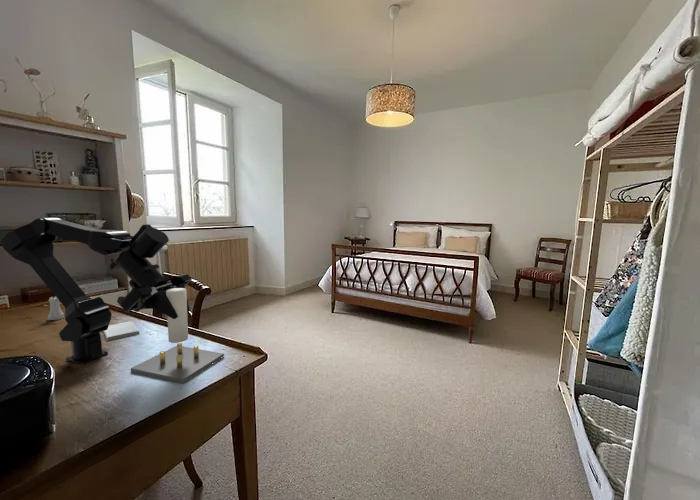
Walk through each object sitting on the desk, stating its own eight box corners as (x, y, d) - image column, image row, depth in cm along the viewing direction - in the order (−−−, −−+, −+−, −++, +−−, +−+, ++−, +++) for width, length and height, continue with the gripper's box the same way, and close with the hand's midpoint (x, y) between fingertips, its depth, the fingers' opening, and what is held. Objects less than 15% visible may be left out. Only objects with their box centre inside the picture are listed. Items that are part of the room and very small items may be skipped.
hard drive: (139, 330, 98) (131, 320, 107) (106, 337, 92) (102, 326, 101) (139, 335, 98) (132, 325, 107) (107, 342, 92) (102, 331, 101)
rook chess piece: (52, 317, 111) (50, 295, 110) (67, 316, 113) (65, 295, 112) (44, 321, 107) (42, 299, 106) (60, 320, 108) (58, 298, 107)
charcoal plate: (130, 371, 75) (129, 356, 74) (177, 348, 88) (177, 335, 88) (183, 383, 70) (182, 367, 70) (224, 356, 84) (223, 343, 83)
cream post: (165, 343, 76) (163, 292, 74) (171, 336, 80) (169, 288, 78) (185, 342, 77) (183, 291, 75) (190, 335, 81) (188, 287, 79)
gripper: (148, 282, 88) (185, 322, 88) (86, 300, 69) (133, 350, 69) (172, 257, 86) (210, 297, 86) (116, 268, 68) (164, 319, 68)
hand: (182, 314), depth 77 cm, fingers closed on cream post, 4 cm apart
